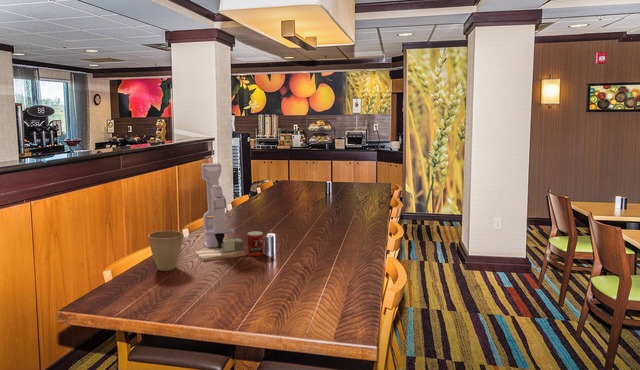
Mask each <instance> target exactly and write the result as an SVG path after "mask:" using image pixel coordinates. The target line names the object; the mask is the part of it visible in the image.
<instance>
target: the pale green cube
mask: <svg viewBox="0 0 640 370" xmlns="http://www.w3.org/2000/svg"><path fill="white" fill-rule="evenodd" d="M233 239H234V238H223V240H222V243H221V246H222V247H221V249H220V250H222V251H223V252H227V251H235V241H234V240H233Z"/></svg>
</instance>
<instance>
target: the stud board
mask: <svg viewBox="0 0 640 370" xmlns="http://www.w3.org/2000/svg"><path fill="white" fill-rule="evenodd" d="M232 239H233V240H234V241H235V251H227V252H223V251H222V250H220V249H219V248H218V247H216V248H209V249H201V250H195V251H194V255H195V256H196V257H197V258H198V259H199V260H200V261H201V262H205V261H207V262H208V261H212V260H222V259H231V258H237V257H246V256H247V252H246V251H244V241H243V240H242V239H241V238H232Z"/></svg>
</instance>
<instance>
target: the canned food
mask: <svg viewBox="0 0 640 370" xmlns="http://www.w3.org/2000/svg"><path fill="white" fill-rule="evenodd" d="M246 237H247V239H246V240H247V255H248V256H250V257H260V256H262V255H263V254H264V234H263V231H259V230H258V231H257V230H255V231H254V230H253V231H249V232H247V235H246Z"/></svg>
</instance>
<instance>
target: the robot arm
mask: <svg viewBox="0 0 640 370" xmlns="http://www.w3.org/2000/svg"><path fill="white" fill-rule="evenodd" d="M200 166H201V167H200V170H201V172H200V173H201V179H202V180H203V181H205V184H206V194H207V196H206V198H207V200H206V201H207V211H206V212H205V213H204V214H203V215H202V226H203V229H204V235H203V236H204V237H205V238H204V239H205V241H204V242H203V244H204V245H205V246H206V247H207V248H209V249H211V248H219V249H221V247H222V246H221V243H222V240H223V239H225V234H234V233H235V229H234V228H226V209H227V200H226V197H225V195H224V192H223V188H222V186H221V185H220V183H219V181H220V180H219V179H220V178H221V174H222V165H221V163H220V162H215V163H212V162H210V163H205V162H202V164H201V165H200Z"/></svg>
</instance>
